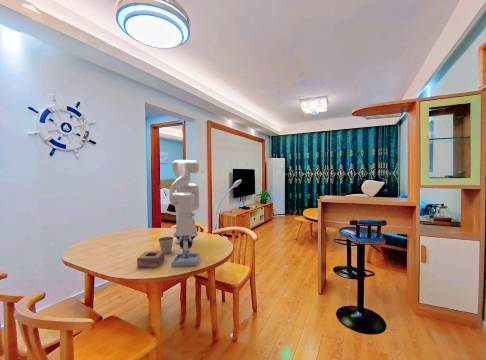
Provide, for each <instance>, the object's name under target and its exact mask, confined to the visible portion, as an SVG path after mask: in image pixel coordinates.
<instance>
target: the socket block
mask: <svg viewBox="0 0 486 360" xmlns="http://www.w3.org/2000/svg"><path fill="white" fill-rule="evenodd" d="M136 261H137V263H136V264H137V266H136V267H137V269H142V268H159V267H160V266H161V265H162V263H163V262H164V261H165V254H164V251H161V250H150V251H149V250H148V251H147V250H145V251H143V253H142V254H141V255H139V256H138V257H137V258H136Z"/></svg>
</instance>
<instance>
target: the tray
mask: <svg viewBox="0 0 486 360" xmlns="http://www.w3.org/2000/svg"><path fill="white" fill-rule="evenodd" d="M199 260H200V252H190V258H188V259H183V253H176V254H175V256H174V258H173V259H172V260H171V267H172V268H174V267H175V268H177V267H178V268H179V267H197V265H198V263H199V262H198V261H199Z"/></svg>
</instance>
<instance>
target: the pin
mask: <svg viewBox="0 0 486 360" xmlns="http://www.w3.org/2000/svg"><path fill="white" fill-rule="evenodd" d="M181 239H182V245H183V248H182V254H183V259H188V258H190V253H191V252H190V251H191V250H190V249H191V248H189V236H182V237H181Z"/></svg>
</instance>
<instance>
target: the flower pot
mask: <svg viewBox="0 0 486 360" xmlns="http://www.w3.org/2000/svg"><path fill="white" fill-rule="evenodd" d="M174 240H175V237H174V236H163V237H160V238H158V240H157V241H158V243H159V247H160V251H164V255H166V254H170V253H172V250H173V243H174Z"/></svg>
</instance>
